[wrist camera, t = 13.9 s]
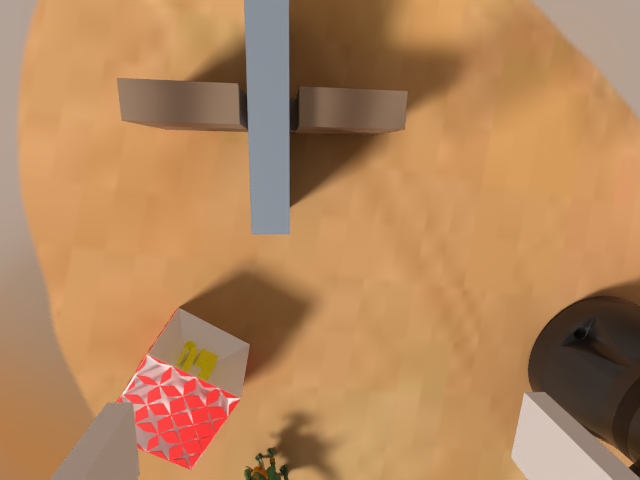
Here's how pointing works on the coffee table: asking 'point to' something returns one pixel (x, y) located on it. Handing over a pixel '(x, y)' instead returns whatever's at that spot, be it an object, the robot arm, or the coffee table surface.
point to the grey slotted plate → (268, 114)
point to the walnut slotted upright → (232, 111)
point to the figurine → (259, 476)
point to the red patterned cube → (186, 388)
